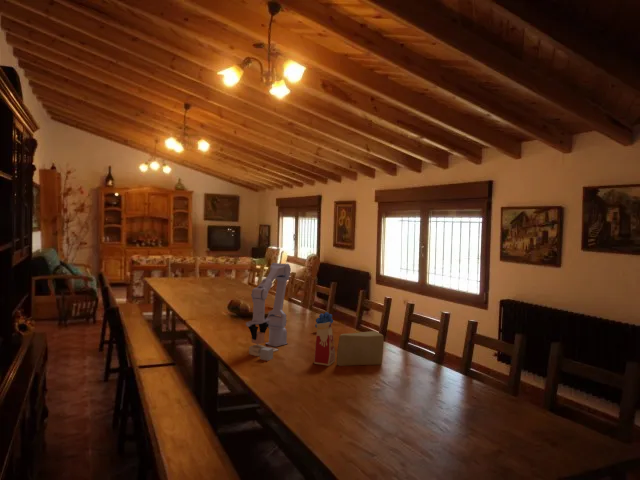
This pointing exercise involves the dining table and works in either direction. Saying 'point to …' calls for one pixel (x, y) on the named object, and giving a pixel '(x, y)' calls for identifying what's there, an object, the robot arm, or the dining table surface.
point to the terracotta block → (259, 338)
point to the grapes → (324, 318)
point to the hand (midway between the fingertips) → (257, 338)
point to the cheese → (360, 349)
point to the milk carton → (324, 345)
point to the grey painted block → (266, 353)
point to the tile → (274, 349)
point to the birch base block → (255, 349)
